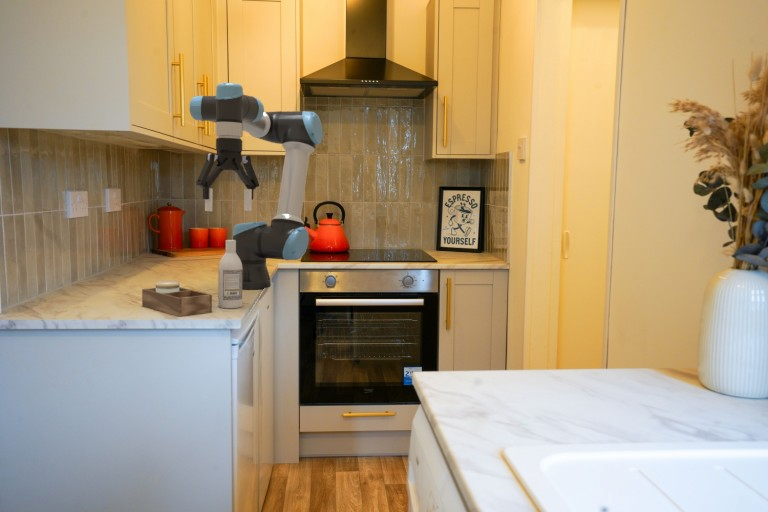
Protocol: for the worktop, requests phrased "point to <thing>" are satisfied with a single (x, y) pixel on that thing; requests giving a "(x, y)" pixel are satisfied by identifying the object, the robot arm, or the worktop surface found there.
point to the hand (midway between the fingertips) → (228, 211)
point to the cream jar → (167, 286)
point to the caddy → (177, 301)
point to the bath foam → (230, 278)
